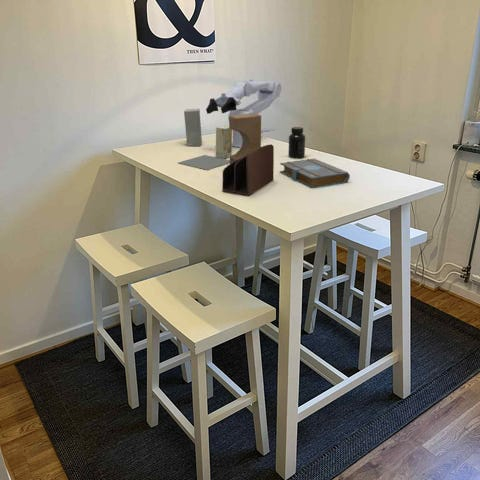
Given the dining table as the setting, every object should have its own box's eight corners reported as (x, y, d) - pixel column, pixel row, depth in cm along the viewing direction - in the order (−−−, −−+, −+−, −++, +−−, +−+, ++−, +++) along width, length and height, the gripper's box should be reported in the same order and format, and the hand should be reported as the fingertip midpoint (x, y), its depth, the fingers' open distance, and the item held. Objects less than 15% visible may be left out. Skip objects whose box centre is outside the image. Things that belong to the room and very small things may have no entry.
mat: (204, 155, 204) (204, 154, 204) (233, 161, 195) (233, 161, 195) (177, 163, 193) (177, 162, 193) (206, 170, 184) (206, 169, 183)
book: (349, 183, 170) (350, 169, 168) (309, 189, 164) (310, 175, 162) (315, 168, 188) (316, 156, 186) (278, 173, 181) (279, 160, 179)
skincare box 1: (200, 146, 219) (199, 110, 212) (185, 146, 219) (183, 110, 213) (202, 142, 227) (201, 107, 220) (187, 142, 227) (185, 107, 220)
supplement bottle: (304, 154, 205) (305, 126, 200) (304, 158, 199) (306, 129, 194) (288, 154, 206) (289, 126, 201) (288, 158, 200) (289, 129, 195)
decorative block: (235, 171, 182) (235, 117, 174) (229, 167, 187) (228, 115, 179) (261, 167, 187) (262, 115, 179) (254, 164, 192) (254, 113, 183)
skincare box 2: (224, 158, 198) (224, 128, 193) (215, 157, 200) (215, 127, 195) (232, 156, 203) (232, 126, 199) (223, 154, 205) (223, 125, 201)
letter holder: (273, 181, 172) (275, 141, 166) (248, 197, 156) (248, 154, 150) (248, 177, 176) (249, 138, 171) (221, 192, 160) (221, 150, 155)
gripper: (215, 89, 208) (197, 102, 200) (243, 87, 200) (226, 101, 192) (220, 105, 212) (203, 118, 204) (247, 103, 204) (230, 117, 196)
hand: (214, 111), depth 198 cm, fingers open, 7 cm apart
